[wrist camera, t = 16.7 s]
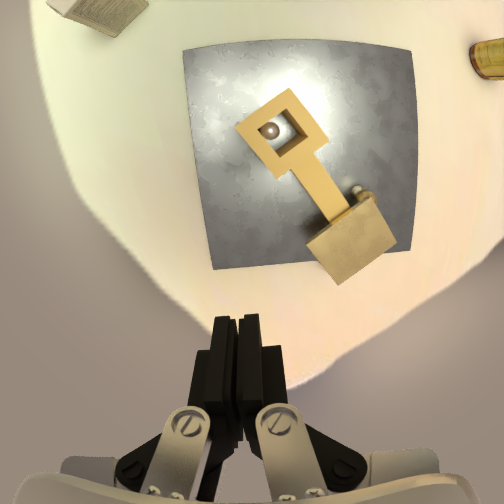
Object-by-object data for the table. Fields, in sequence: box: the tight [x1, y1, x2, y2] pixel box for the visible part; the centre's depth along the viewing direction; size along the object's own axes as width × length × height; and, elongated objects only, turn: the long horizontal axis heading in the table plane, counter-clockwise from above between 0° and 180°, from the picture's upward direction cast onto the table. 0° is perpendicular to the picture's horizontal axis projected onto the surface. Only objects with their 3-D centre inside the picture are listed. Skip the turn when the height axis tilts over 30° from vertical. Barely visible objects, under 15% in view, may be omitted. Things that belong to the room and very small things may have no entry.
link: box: [234, 87, 351, 223], centre depth 29 cm, size 18×6×6 cm, turn 39°
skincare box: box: [46, 0, 148, 37], centre depth 17 cm, size 6×4×12 cm
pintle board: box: [183, 39, 418, 285], centre depth 29 cm, size 29×28×6 cm
